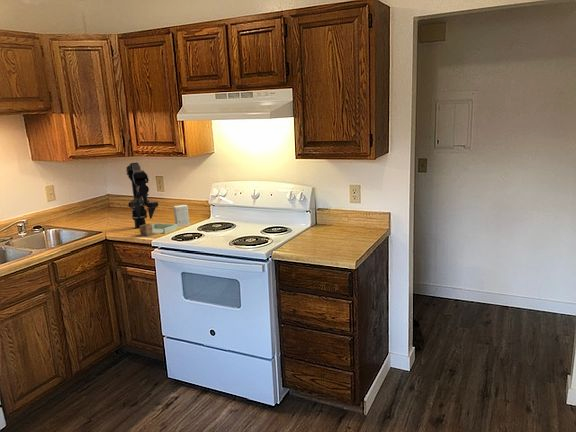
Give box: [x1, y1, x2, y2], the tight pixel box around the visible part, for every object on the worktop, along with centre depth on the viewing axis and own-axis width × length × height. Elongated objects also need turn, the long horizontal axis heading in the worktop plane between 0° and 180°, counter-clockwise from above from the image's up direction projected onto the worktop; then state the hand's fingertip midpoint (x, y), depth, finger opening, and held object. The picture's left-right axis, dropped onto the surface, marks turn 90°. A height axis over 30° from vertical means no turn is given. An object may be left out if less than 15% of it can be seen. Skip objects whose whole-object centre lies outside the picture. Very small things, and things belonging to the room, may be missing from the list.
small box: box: [173, 204, 191, 228], centre depth 306 cm, size 8×6×13 cm
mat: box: [136, 233, 159, 238], centre depth 285 cm, size 10×9×1 cm
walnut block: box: [139, 223, 153, 236], centre depth 284 cm, size 5×5×6 cm
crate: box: [151, 222, 179, 234], centre depth 295 cm, size 18×12×3 cm, turn 64°
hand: (144, 218), depth 283 cm, fingers open, 9 cm apart
